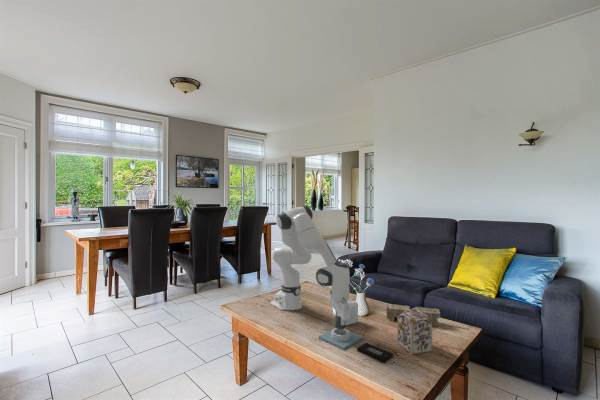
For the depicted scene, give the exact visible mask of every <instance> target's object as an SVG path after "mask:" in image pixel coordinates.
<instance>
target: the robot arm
mask: <svg viewBox="0 0 600 400" xmlns="http://www.w3.org/2000/svg"><path fill="white" fill-rule="evenodd" d="M313 217H314V215H313V211H312V209H311V208H310V207H309V205H301V206H297V207H292V208H291V209H287V210H285V211H280V212H279V213H278V214H277V216H276V224H277V226H278V228H279V229H280V231H281V232H280V233H281V240H282V241H281V242H282V243H283V244H284V245H285V246H281V247H280V246H279V247H276V248H274V250H273V251H272V255H271V256H272V260H273V261H274V263H276V264H277V265H278V267H279V268H280V269H281V272H282V278H283V279H282V281H283V282H282V283H283V284H281V285H280V288H281V289H280V290H279V291H278V292H276V293H275V294H274V299H273V300H271V301H270V304H271V305H272V306H273V307H275V308H277V309H279V310H280V311H297V310H300V309H302V308H303V301H302V293H301V290H302V285H301V274H300V272H299V270H297V269H296V268H294V267H293V266H292V265H307V264H309V263H310V262H311V260H312V252H311V251H310V249H312V250H315V251H316V252H318V253H319V254H320V255H321V257H322V259H323V260H324V262H325V264H326V266H322V267H321V268H319V269H317V271H316V273H315V280H316V282H317V284H318V285H320V286H322V287H331V289H329V294H330V305H331V307H332V308H333V309H334V311H335V315H336V314H339V316H340V317H341V321H340V324H341V325H345V320H350V305H349V303H348V302H349V300H350V285H349V284H350V279H351V278H350V269H349V265H348V264H346V263H345V262H339V261H338V259H337V258H336V256H335V255H334V253H333V251H332V250H331V248H330V246H329V244H328V243H327V241H326V240H325V239H324V238H323V237H322V235H321V234H320V232H319V231H318V228H317V226H316V224H315V222H314V221H313ZM345 326H346V325H345Z"/></svg>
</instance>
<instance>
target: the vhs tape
mask: <svg viewBox="0 0 600 400" xmlns="http://www.w3.org/2000/svg"><path fill="white" fill-rule="evenodd" d="M356 351H357V352H359V353H360V354H363V355H365V356H368V357H370V358H371V359H374V360H377V361H378V362H380V363H383V364H385V363H387V362H388V361H390V360H391V359H392V358H393V357H394V354H393V353H392V352H390V351H387V350H386V349H385V350H384V349H383V348H380V347H377V346H376V345H373V344H370V343H368V342H365V343H364V344H361V345H360V346H358V347H357V348H356Z"/></svg>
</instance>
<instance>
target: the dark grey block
mask: <svg viewBox="0 0 600 400" xmlns="http://www.w3.org/2000/svg"><path fill="white" fill-rule="evenodd" d="M340 321H341V317H340V316H339V314H336V313H335V321H334V322H335V323H334V324H335V325H334V326H335V327H334V328H337V329H346V325H341V324H340Z"/></svg>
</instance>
